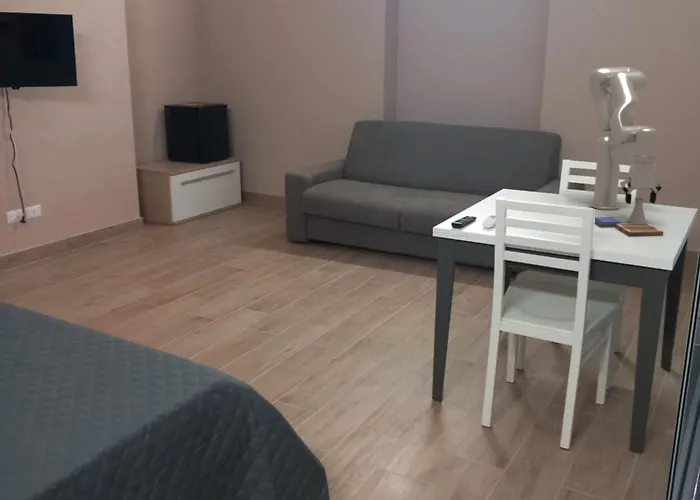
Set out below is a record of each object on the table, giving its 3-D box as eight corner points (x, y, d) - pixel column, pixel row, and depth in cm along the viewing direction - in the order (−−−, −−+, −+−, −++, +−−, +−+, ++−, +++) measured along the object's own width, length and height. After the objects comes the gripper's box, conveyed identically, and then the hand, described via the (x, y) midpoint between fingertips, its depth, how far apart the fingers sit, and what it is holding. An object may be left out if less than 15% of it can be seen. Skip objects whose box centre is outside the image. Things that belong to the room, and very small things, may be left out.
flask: (648, 225, 282) (651, 201, 279) (628, 225, 284) (631, 200, 281) (644, 221, 289) (647, 197, 286) (625, 220, 290) (628, 196, 288)
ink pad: (591, 221, 289) (592, 217, 288) (613, 221, 289) (614, 216, 289) (600, 227, 280) (601, 222, 280) (623, 227, 281) (623, 222, 280)
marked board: (614, 227, 280) (615, 223, 280) (647, 226, 281) (647, 222, 280) (629, 236, 268) (629, 232, 267) (662, 235, 268) (663, 231, 268)
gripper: (661, 158, 283) (657, 200, 287) (618, 159, 282) (614, 201, 286) (670, 160, 275) (666, 204, 280) (626, 161, 275) (622, 205, 279)
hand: (640, 203), depth 283 cm, fingers open, 9 cm apart
